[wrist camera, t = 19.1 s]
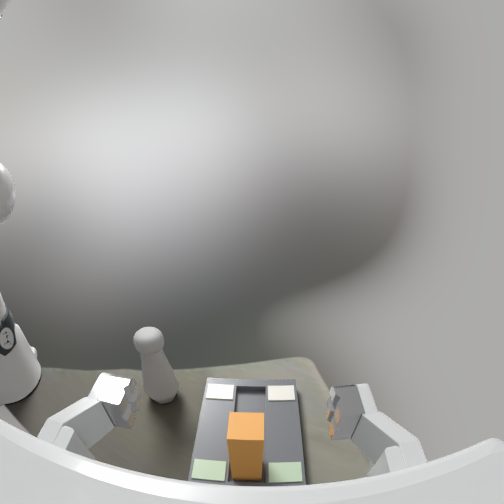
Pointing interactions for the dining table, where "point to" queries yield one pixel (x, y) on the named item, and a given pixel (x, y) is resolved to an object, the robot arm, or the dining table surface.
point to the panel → (275, 431)
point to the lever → (246, 445)
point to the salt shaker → (155, 366)
